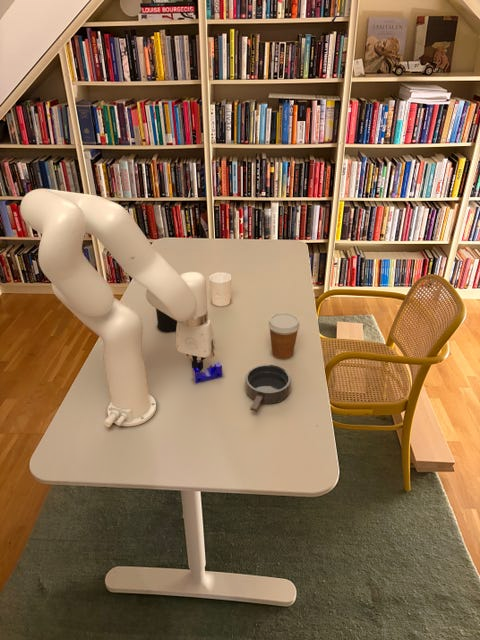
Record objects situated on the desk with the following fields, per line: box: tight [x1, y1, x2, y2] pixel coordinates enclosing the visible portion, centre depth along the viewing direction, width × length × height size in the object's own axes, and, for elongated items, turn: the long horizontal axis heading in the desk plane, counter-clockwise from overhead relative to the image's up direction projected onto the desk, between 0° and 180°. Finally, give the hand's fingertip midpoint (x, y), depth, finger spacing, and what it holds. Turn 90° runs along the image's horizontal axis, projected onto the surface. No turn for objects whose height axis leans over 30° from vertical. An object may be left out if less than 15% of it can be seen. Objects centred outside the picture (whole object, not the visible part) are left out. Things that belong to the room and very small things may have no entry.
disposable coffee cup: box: [267, 312, 301, 360], centre depth 145 cm, size 10×10×12 cm
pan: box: [245, 364, 292, 405], centre depth 132 cm, size 12×12×4 cm
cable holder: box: [192, 361, 223, 384], centre depth 138 cm, size 8×4×4 cm, turn 111°
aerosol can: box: [155, 308, 177, 333], centre depth 156 cm, size 8×8×20 cm
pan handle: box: [250, 394, 264, 412], centre depth 125 cm, size 6×2×1 cm, turn 159°
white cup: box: [208, 272, 232, 307], centre depth 173 cm, size 8×8×10 cm
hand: (197, 370), depth 139 cm, fingers closed
